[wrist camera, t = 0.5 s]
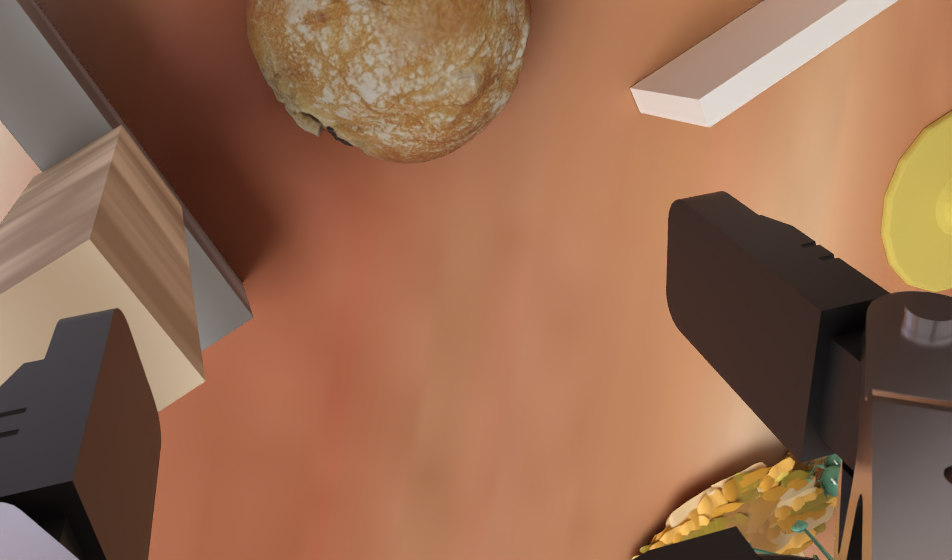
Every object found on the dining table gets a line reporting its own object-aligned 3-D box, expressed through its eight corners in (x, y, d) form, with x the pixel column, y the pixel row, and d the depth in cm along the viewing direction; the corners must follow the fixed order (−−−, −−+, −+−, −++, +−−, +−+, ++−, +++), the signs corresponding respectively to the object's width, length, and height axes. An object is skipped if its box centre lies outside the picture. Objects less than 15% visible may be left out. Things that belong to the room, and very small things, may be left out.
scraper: (181, 321, 32) (209, 646, 16) (-47, 37, 26) (-357, 83, 10) (248, 278, 32) (343, 551, 16) (37, -11, 27) (-137, -37, 11)
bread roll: (210, 35, 32) (188, 146, 26) (314, -236, 27) (315, -174, 21) (435, 128, 37) (459, 242, 31) (563, -89, 31) (623, -3, 25)
